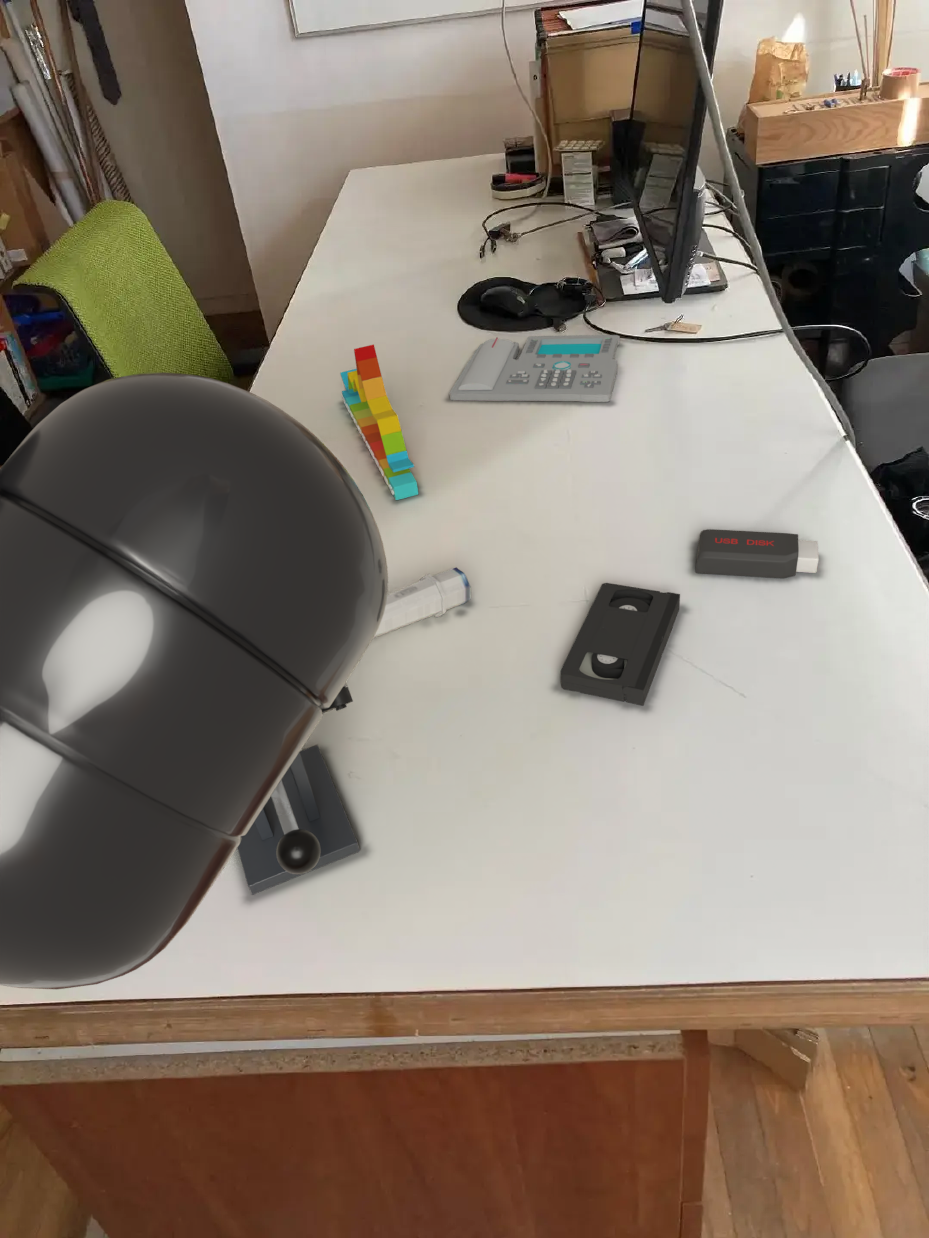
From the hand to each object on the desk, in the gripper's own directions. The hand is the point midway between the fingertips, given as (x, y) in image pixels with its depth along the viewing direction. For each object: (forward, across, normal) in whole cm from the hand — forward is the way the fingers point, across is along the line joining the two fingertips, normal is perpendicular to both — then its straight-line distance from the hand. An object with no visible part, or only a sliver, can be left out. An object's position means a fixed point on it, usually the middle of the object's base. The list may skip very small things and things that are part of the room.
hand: (221, 729), depth 49 cm
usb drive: (+37, -56, 0) cm, 67 cm away
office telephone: (+76, -58, -38) cm, 103 cm away
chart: (+71, -29, -33) cm, 83 cm away
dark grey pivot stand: (+30, -2, +8) cm, 31 cm away
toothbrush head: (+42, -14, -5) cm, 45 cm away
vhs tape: (+34, -37, +4) cm, 50 cm away
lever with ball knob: (+22, -2, +5) cm, 23 cm away
